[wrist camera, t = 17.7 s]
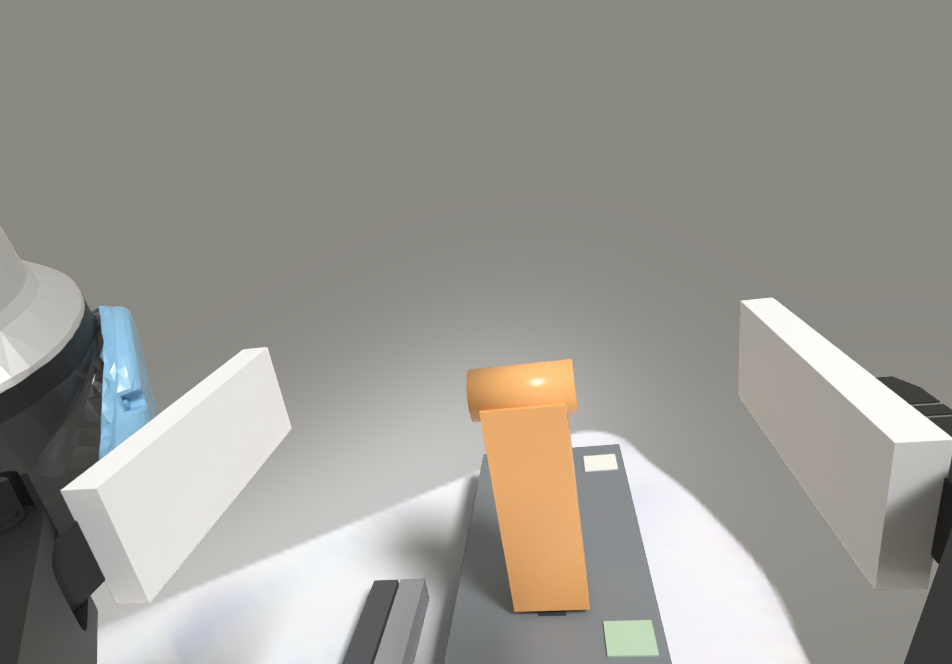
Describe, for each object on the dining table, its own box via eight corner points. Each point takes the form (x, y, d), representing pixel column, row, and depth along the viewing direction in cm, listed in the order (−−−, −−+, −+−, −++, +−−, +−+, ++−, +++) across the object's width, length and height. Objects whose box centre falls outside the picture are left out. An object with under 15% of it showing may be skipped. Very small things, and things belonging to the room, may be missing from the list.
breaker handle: (505, 612, 29) (463, 384, 25) (508, 570, 32) (471, 359, 28) (600, 609, 29) (573, 374, 24) (595, 566, 31) (570, 349, 27)
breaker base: (451, 721, 28) (440, 675, 27) (489, 485, 46) (483, 452, 45) (677, 722, 26) (674, 673, 25) (621, 476, 45) (618, 442, 44)
